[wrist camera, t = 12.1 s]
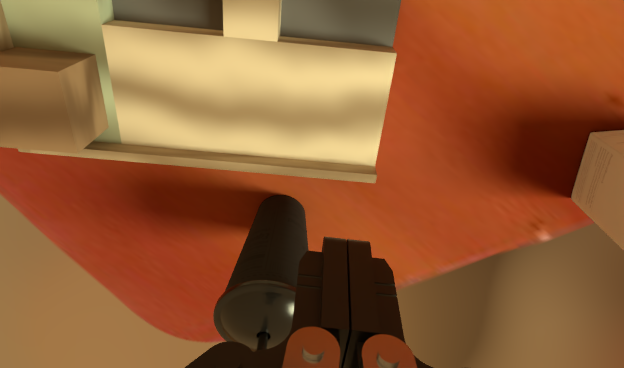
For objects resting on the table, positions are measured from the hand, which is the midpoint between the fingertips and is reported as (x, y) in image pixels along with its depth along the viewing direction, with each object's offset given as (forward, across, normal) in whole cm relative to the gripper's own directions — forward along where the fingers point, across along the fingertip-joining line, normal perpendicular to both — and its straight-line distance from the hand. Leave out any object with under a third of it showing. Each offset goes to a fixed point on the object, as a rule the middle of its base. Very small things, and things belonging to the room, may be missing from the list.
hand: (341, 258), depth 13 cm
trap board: (+23, +11, 0) cm, 25 cm away
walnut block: (+20, +22, +3) cm, 30 cm away
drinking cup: (+23, +4, +16) cm, 28 cm away
